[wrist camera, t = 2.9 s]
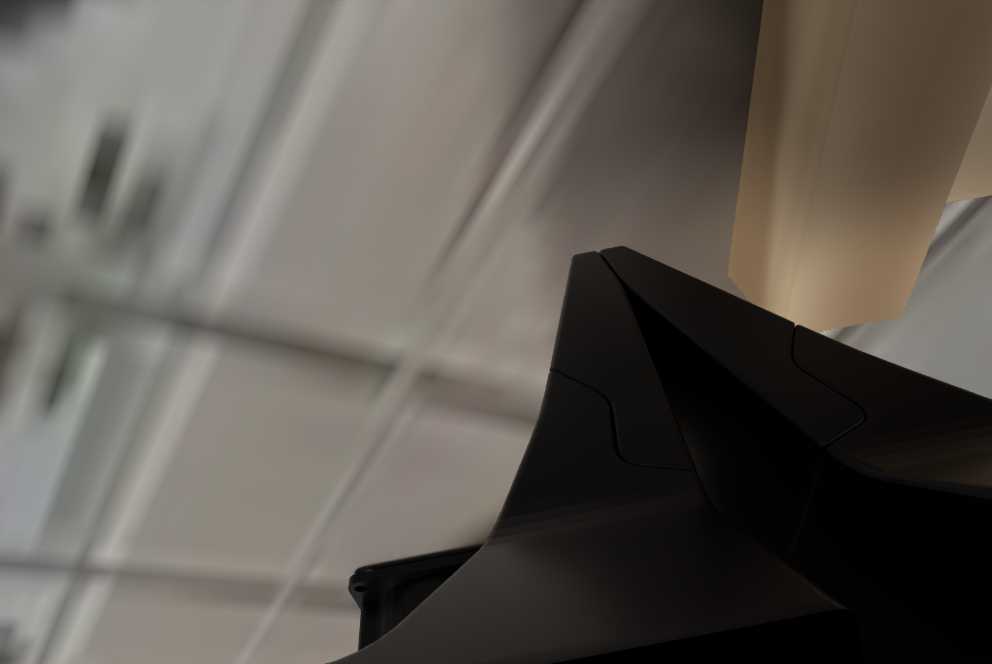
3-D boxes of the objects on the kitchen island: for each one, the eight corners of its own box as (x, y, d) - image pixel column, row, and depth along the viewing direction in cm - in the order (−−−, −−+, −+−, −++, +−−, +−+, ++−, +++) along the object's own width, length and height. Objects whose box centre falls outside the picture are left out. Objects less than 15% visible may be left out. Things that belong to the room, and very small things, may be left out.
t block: (727, 274, 16) (781, 339, 14) (780, -129, 10) (889, -140, 8) (1034, 216, 16) (1142, 270, 14) (1253, -219, 10) (1501, -256, 8)
